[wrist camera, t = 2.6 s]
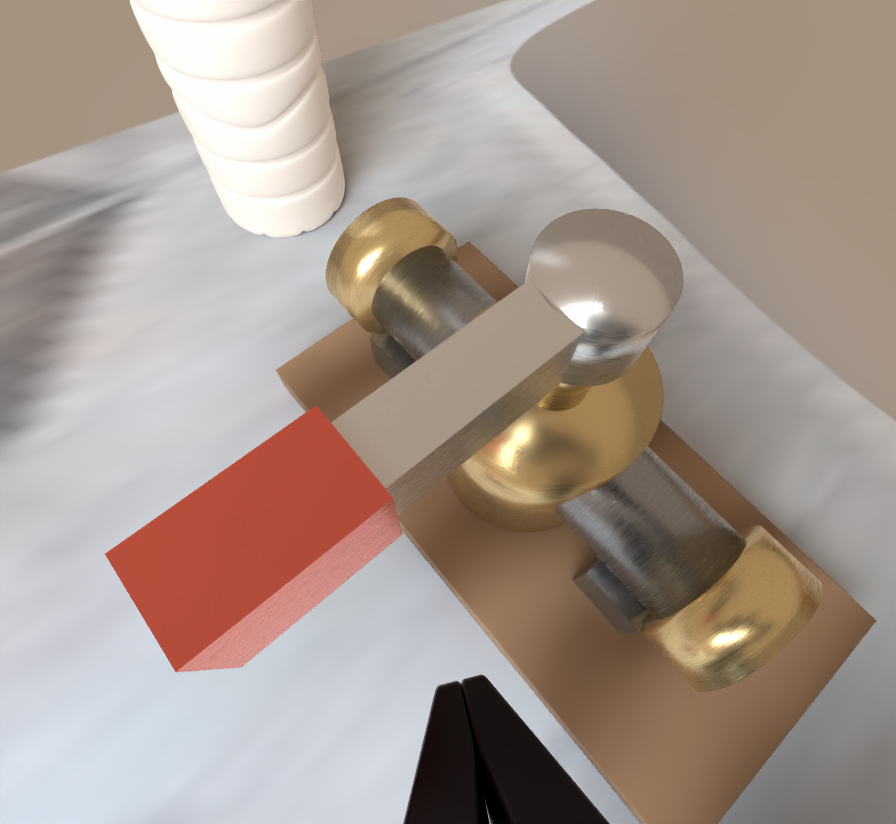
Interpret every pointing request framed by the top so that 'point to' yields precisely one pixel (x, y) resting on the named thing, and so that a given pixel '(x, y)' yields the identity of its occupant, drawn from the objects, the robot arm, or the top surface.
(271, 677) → the top surface
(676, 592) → the valve body
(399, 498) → the valve lever
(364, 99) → the top surface
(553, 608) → the valve board
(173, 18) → the water bottle
